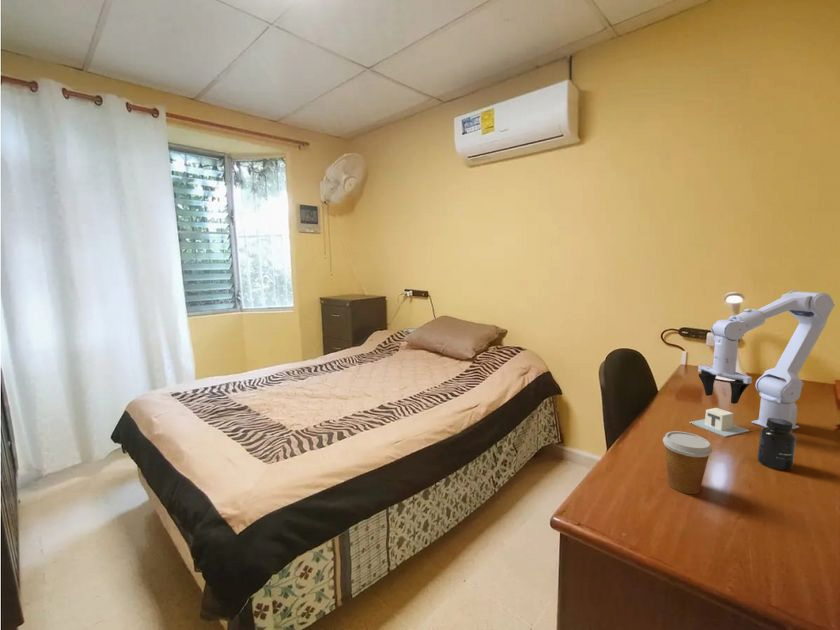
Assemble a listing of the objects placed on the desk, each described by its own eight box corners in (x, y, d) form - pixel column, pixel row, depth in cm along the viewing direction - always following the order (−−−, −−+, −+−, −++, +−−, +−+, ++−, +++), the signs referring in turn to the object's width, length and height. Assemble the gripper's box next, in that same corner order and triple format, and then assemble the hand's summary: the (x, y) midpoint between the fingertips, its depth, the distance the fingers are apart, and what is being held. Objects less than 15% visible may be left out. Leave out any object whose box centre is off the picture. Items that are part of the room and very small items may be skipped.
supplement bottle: (785, 474, 94) (791, 428, 92) (752, 461, 100) (756, 419, 98) (797, 467, 97) (802, 423, 96) (764, 455, 103) (768, 413, 102)
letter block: (715, 422, 124) (716, 407, 123) (731, 428, 119) (733, 413, 119) (704, 424, 123) (705, 409, 122) (720, 430, 118) (722, 415, 117)
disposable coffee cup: (710, 503, 83) (715, 453, 82) (660, 490, 88) (663, 442, 87) (705, 482, 91) (710, 435, 90) (659, 471, 96) (662, 427, 95)
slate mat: (712, 418, 128) (712, 417, 128) (749, 431, 118) (749, 430, 118) (689, 422, 125) (689, 422, 125) (725, 437, 114) (725, 436, 114)
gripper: (692, 353, 124) (689, 393, 126) (742, 364, 110) (738, 408, 112) (707, 352, 126) (704, 390, 128) (758, 362, 112) (753, 405, 114)
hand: (721, 398), depth 120 cm, fingers open, 7 cm apart
